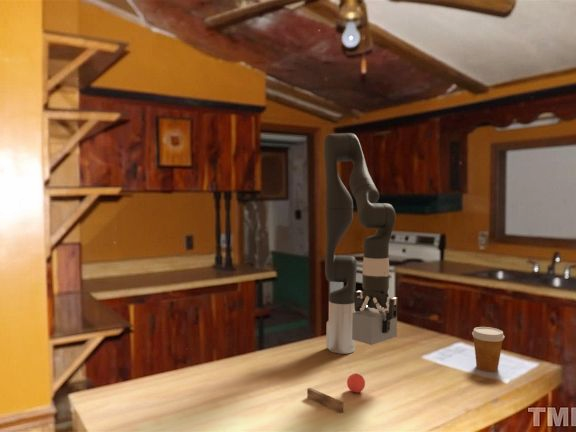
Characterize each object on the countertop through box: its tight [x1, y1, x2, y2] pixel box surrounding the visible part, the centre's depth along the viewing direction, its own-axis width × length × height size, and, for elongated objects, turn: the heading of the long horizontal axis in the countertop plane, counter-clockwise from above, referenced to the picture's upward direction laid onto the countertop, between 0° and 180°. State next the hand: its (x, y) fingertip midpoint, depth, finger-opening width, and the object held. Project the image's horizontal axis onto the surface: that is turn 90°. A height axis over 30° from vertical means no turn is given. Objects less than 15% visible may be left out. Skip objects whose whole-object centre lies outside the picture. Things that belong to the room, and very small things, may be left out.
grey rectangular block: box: [352, 307, 398, 346], centre depth 140 cm, size 7×12×8 cm, turn 133°
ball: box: [346, 373, 366, 393], centre depth 135 cm, size 5×5×5 cm
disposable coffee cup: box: [471, 326, 505, 372], centre depth 154 cm, size 10×10×12 cm
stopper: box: [306, 387, 344, 414], centre depth 127 cm, size 12×1×2 cm, turn 42°
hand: (374, 329), depth 140 cm, fingers closed on grey rectangular block, 7 cm apart
